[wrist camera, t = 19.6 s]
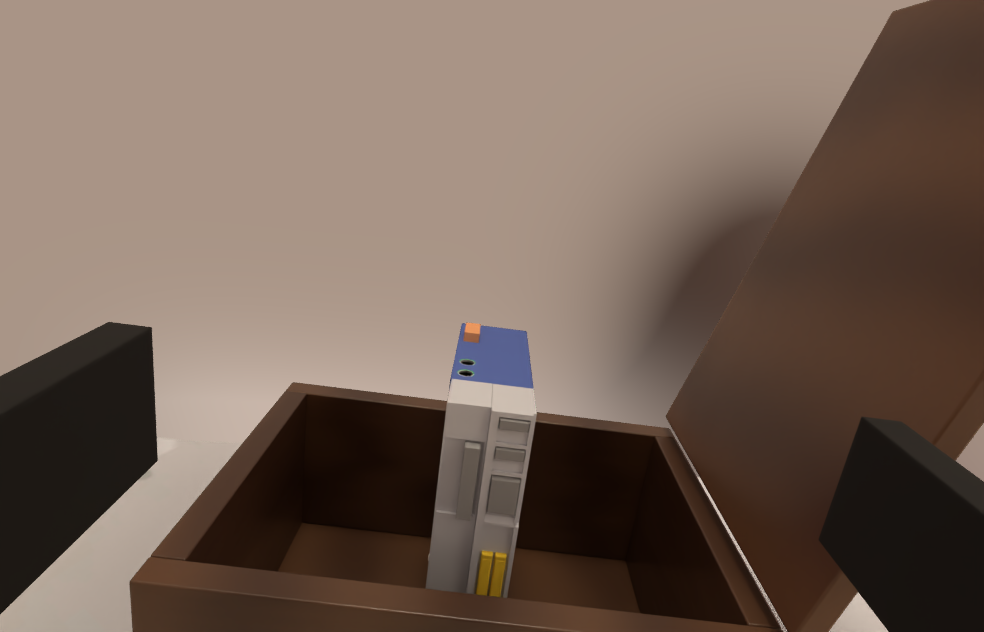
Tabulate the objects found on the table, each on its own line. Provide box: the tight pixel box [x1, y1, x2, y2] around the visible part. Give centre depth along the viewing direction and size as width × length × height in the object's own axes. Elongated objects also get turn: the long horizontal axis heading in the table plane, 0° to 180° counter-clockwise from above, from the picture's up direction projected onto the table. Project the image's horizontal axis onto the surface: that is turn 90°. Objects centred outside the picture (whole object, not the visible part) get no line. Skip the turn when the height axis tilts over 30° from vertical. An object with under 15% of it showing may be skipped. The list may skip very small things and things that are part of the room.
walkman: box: [426, 323, 537, 598], centre depth 23 cm, size 8×3×12 cm, turn 179°
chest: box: [130, 383, 783, 632], centre depth 23 cm, size 18×13×8 cm
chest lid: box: [666, 0, 984, 632], centre depth 20 cm, size 19×13×5 cm
